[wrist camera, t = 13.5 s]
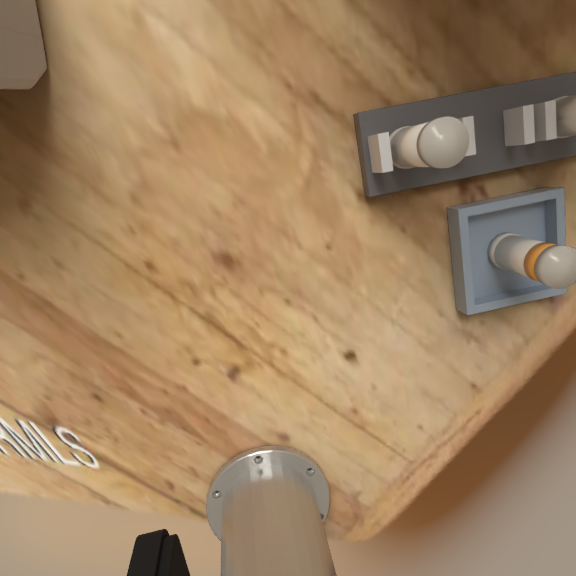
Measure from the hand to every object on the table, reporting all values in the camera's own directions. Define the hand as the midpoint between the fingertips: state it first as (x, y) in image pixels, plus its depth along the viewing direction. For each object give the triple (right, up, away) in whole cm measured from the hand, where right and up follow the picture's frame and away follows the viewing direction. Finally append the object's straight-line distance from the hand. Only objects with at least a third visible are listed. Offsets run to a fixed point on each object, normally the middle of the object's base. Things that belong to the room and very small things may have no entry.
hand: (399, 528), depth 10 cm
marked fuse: (+18, +9, +34) cm, 40 cm away
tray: (+18, +9, +35) cm, 40 cm away
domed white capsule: (+8, +17, +30) cm, 35 cm away
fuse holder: (+14, +19, +32) cm, 39 cm away
